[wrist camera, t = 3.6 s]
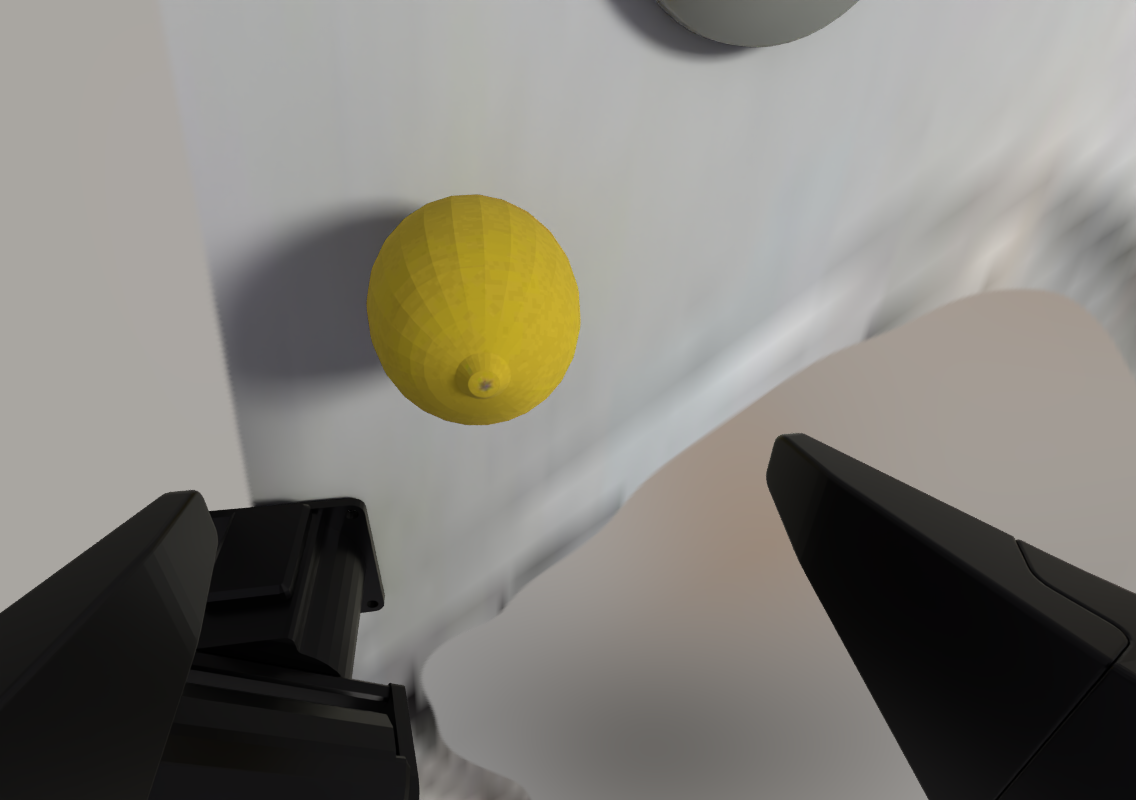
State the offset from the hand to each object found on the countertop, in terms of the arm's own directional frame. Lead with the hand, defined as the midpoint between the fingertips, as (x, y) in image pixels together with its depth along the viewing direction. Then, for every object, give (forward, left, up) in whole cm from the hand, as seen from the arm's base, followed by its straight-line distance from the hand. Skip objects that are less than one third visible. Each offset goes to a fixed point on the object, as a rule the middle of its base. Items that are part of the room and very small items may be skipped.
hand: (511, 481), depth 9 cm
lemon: (-1, 0, -12) cm, 12 cm away
